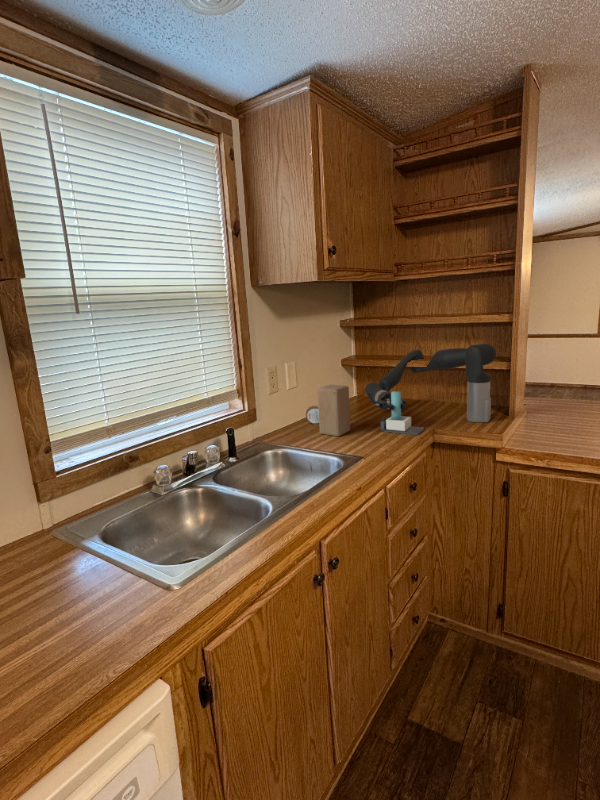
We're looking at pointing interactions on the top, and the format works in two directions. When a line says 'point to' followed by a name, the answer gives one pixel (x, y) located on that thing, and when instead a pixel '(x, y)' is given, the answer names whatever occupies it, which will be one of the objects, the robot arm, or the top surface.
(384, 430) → the grey tray
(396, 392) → the dowel
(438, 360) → the robot arm
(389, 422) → the socket block
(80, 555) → the top surface
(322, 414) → the wooden block
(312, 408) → the tin
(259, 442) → the top surface
